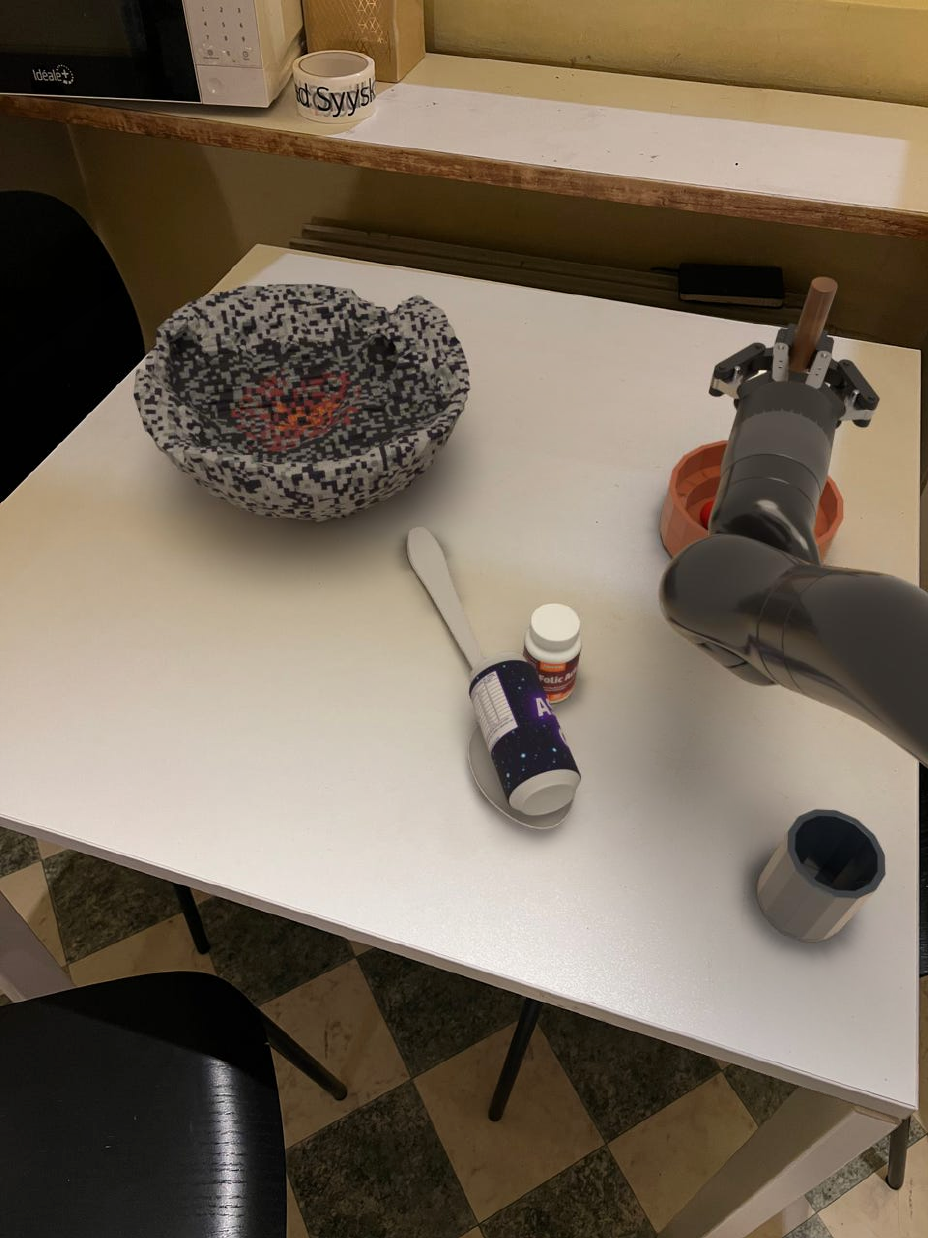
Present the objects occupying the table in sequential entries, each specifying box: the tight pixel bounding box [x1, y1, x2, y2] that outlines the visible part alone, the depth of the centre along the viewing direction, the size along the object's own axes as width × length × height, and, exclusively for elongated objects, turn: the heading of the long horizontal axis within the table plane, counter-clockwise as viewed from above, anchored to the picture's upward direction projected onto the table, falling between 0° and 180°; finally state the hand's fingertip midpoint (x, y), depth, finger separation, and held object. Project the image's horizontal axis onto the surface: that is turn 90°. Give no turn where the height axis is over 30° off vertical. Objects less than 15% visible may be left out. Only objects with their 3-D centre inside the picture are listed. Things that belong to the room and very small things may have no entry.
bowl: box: [133, 283, 471, 523], centre depth 87 cm, size 31×31×15 cm
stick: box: [788, 276, 839, 373], centre depth 76 cm, size 3×2×20 cm, turn 61°
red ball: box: [700, 500, 714, 528], centre depth 86 cm, size 3×3×3 cm
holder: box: [756, 808, 886, 943], centre depth 60 cm, size 6×6×8 cm
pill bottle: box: [522, 602, 583, 704], centre depth 72 cm, size 5×5×8 cm
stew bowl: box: [658, 439, 844, 565], centre depth 85 cm, size 16×16×6 cm
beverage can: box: [468, 651, 582, 815], centre depth 66 cm, size 6×6×12 cm
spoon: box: [406, 526, 576, 830], centre depth 76 cm, size 35×8×3 cm, turn 19°
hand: (804, 336), depth 75 cm, fingers closed on stick, 2 cm apart
